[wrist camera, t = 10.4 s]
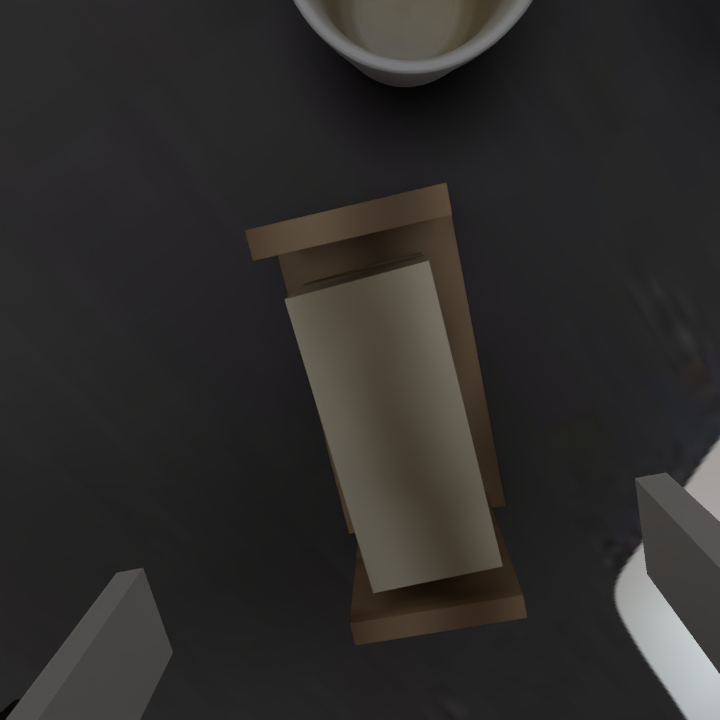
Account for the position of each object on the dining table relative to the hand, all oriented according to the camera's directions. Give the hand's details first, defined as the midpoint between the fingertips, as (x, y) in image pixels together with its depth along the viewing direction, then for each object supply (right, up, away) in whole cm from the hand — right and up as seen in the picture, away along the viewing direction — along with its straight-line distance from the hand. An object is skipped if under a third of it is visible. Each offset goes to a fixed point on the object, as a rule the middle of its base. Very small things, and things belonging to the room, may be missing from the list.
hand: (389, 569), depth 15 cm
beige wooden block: (+1, +4, +15) cm, 16 cm away
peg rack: (+1, +5, +20) cm, 21 cm away
